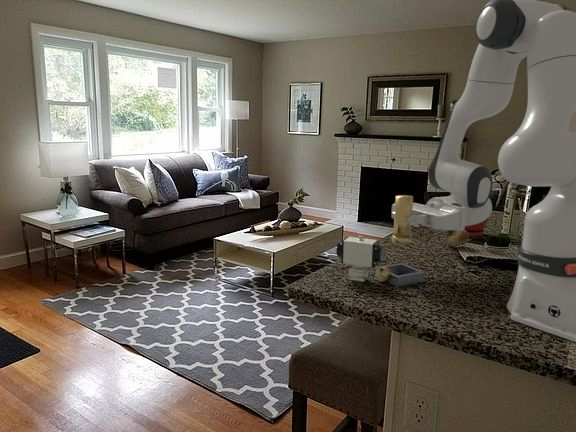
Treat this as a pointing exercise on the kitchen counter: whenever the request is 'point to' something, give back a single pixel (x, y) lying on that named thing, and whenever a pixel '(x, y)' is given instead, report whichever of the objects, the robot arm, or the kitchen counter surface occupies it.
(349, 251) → the pneumatic valve
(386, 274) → the grey rectangular tray
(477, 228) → the plant pot
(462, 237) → the onion
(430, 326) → the kitchen counter surface
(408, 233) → the pipe fitting
